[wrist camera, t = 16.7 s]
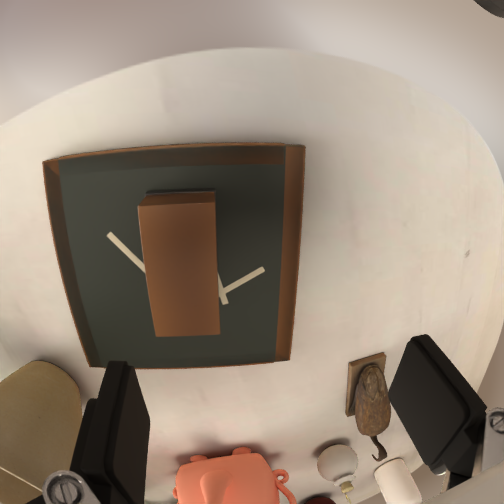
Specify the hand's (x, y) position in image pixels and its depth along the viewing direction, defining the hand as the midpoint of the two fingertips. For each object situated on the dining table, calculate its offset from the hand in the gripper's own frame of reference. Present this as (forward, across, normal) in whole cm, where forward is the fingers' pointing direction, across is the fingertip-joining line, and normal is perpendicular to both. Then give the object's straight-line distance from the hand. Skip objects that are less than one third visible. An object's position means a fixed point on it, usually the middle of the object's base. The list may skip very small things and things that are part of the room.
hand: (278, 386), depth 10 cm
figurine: (+17, -16, +23) cm, 32 cm away
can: (+17, -29, +50) cm, 60 cm away
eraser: (+16, +4, +2) cm, 16 cm away
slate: (+17, +5, +4) cm, 18 cm away
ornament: (+17, -14, +36) cm, 42 cm away
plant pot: (+17, +22, +18) cm, 33 cm away
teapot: (+17, +2, +36) cm, 40 cm away
